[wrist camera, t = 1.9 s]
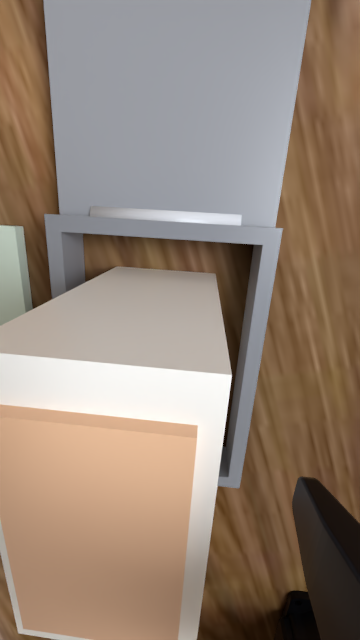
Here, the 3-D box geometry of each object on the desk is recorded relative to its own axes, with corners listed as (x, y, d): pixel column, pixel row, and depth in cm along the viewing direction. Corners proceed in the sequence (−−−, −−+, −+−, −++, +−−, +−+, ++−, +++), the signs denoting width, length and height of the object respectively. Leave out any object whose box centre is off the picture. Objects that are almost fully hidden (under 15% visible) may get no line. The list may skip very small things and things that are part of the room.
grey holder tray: (341, -234, 8) (383, -376, 6) (235, 456, 16) (239, 488, 14) (39, -223, 9) (-9, -349, 7) (83, 439, 17) (67, 467, 15)
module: (215, 273, 13) (233, 385, 4) (200, 420, 16) (193, 679, 7) (116, 266, 13) (-62, 357, 4) (119, 412, 16) (10, 650, 7)
